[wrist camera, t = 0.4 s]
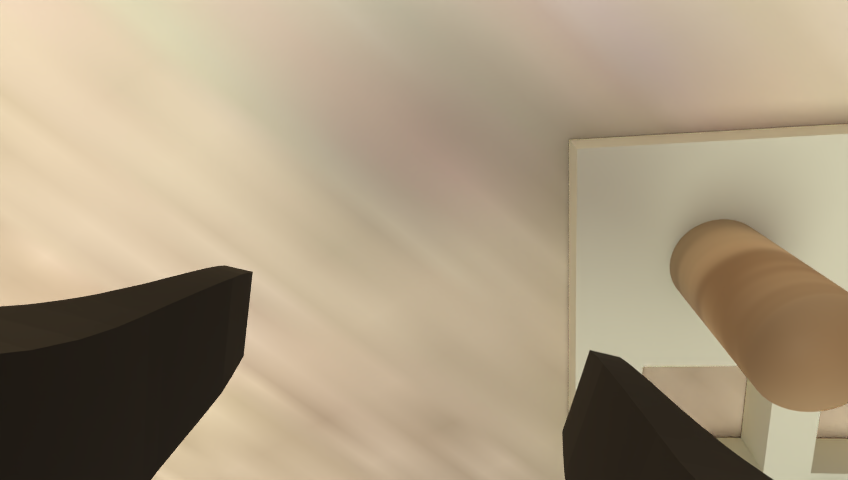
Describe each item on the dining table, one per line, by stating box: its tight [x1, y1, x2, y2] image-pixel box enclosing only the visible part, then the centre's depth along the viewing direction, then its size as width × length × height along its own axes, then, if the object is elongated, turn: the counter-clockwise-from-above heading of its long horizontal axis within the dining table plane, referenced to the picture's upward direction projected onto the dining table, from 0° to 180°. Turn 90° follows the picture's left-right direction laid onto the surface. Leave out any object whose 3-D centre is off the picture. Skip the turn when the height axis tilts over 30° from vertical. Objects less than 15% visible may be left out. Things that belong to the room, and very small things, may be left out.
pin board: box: [568, 124, 848, 480], centre depth 20 cm, size 20×15×5 cm
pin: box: [670, 219, 848, 412], centre depth 16 cm, size 3×3×6 cm
